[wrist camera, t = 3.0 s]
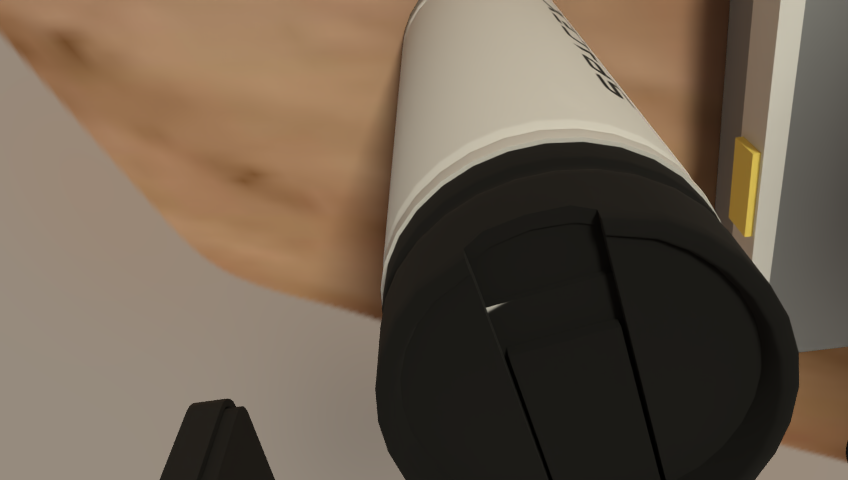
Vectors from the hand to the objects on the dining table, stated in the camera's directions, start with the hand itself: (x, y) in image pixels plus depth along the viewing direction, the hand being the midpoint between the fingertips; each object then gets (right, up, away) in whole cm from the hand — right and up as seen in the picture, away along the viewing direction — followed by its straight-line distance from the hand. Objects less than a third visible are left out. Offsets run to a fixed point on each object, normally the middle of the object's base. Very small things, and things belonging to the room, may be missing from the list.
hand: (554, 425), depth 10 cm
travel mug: (0, +10, +17) cm, 20 cm away
